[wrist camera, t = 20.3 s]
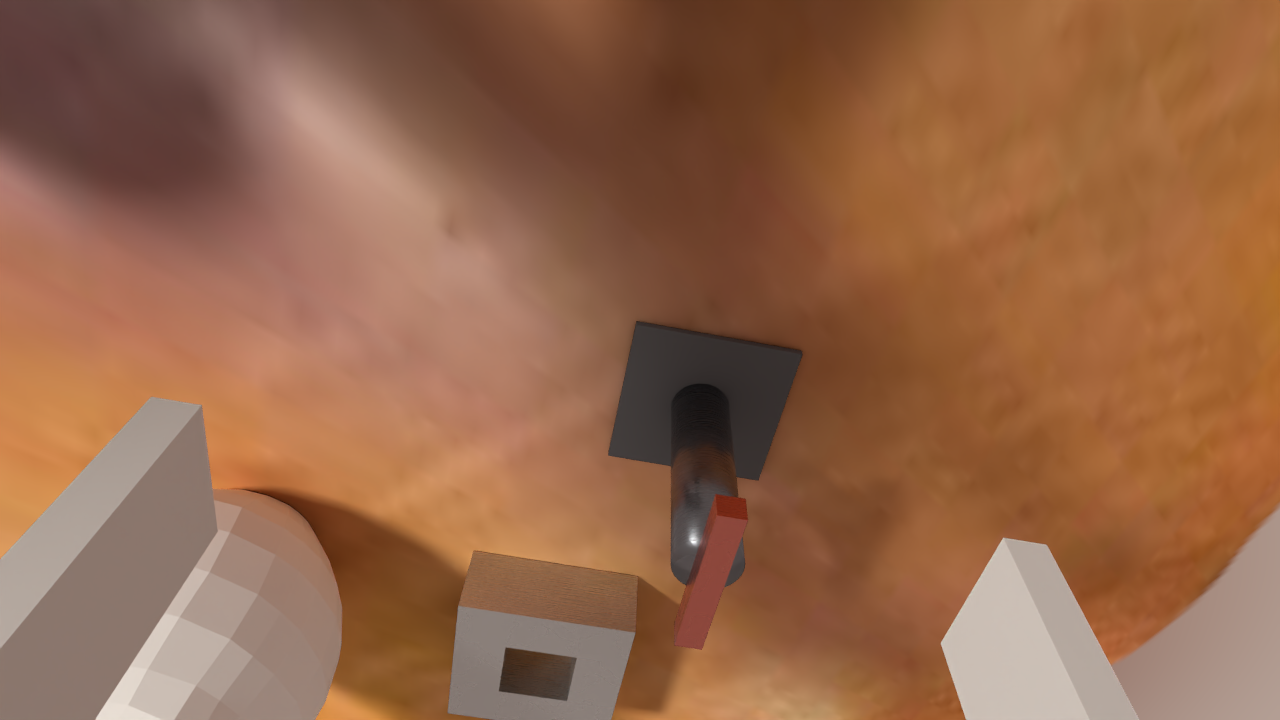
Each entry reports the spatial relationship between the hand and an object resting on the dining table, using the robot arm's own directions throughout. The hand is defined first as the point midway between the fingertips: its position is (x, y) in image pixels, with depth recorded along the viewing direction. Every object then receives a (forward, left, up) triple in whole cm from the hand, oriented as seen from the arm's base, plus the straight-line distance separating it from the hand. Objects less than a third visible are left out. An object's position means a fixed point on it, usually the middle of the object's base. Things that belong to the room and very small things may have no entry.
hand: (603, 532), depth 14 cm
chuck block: (0, -41, -32) cm, 52 cm away
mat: (+7, -19, -32) cm, 38 cm away
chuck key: (+7, -19, -31) cm, 37 cm away
